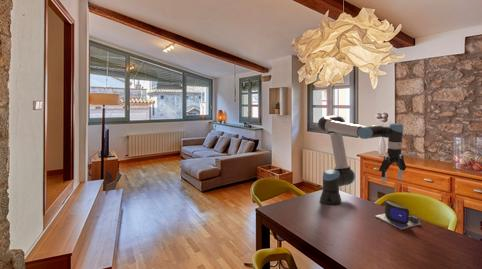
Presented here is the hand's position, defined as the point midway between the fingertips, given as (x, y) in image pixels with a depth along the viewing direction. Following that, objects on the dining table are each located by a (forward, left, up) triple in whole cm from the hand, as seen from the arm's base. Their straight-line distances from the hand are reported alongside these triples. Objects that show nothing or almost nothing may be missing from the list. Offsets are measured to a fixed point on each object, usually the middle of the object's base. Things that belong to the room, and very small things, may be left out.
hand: (391, 180), depth 166 cm
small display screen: (+6, -2, -23) cm, 24 cm away
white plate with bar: (+7, -2, -24) cm, 24 cm away
